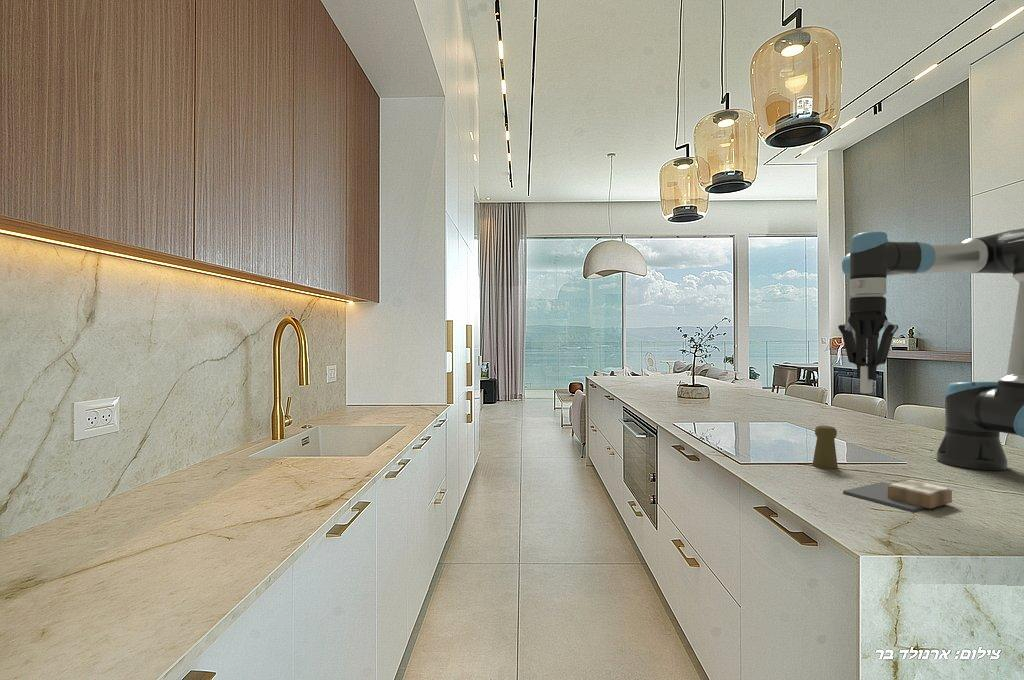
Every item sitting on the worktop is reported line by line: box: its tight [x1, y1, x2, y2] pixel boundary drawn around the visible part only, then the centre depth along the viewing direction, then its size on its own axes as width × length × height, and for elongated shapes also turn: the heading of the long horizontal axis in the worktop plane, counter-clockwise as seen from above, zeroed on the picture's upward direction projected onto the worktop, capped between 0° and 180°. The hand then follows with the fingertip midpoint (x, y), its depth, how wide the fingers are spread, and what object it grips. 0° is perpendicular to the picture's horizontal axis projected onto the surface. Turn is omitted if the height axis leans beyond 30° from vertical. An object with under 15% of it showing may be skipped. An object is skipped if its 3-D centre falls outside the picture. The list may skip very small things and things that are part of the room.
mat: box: [842, 481, 926, 512], centre depth 121 cm, size 16×14×1 cm
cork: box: [811, 424, 839, 470], centre depth 148 cm, size 6×6×11 cm
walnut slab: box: [888, 479, 953, 509], centre depth 117 cm, size 9×3×8 cm
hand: (866, 392), depth 134 cm, fingers closed
